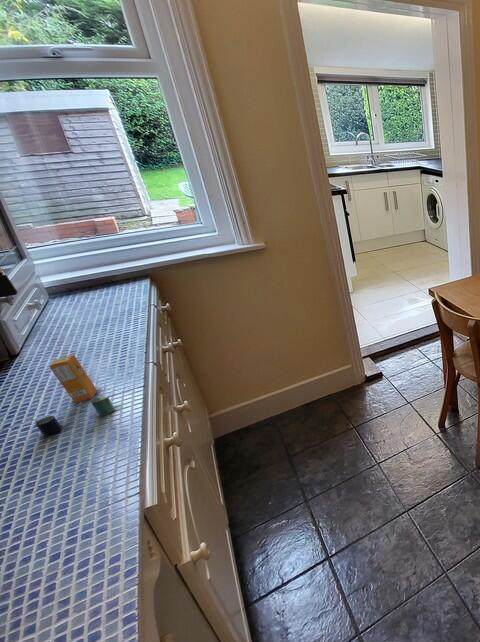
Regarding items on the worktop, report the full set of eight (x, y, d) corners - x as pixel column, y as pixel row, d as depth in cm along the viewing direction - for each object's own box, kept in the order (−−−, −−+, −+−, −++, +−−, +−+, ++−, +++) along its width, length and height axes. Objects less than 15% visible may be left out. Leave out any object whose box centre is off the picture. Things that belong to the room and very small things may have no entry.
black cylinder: (39, 436, 80) (31, 424, 79) (55, 427, 83) (47, 415, 81) (50, 437, 80) (42, 425, 78) (65, 428, 82) (57, 416, 81)
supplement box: (78, 395, 92) (55, 358, 88) (98, 390, 93) (76, 353, 89) (72, 404, 89) (47, 365, 85) (92, 398, 91) (69, 360, 86)
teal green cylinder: (95, 415, 85) (87, 402, 84) (108, 407, 88) (100, 394, 86) (105, 416, 85) (97, 403, 83) (118, 408, 87) (110, 395, 86)
